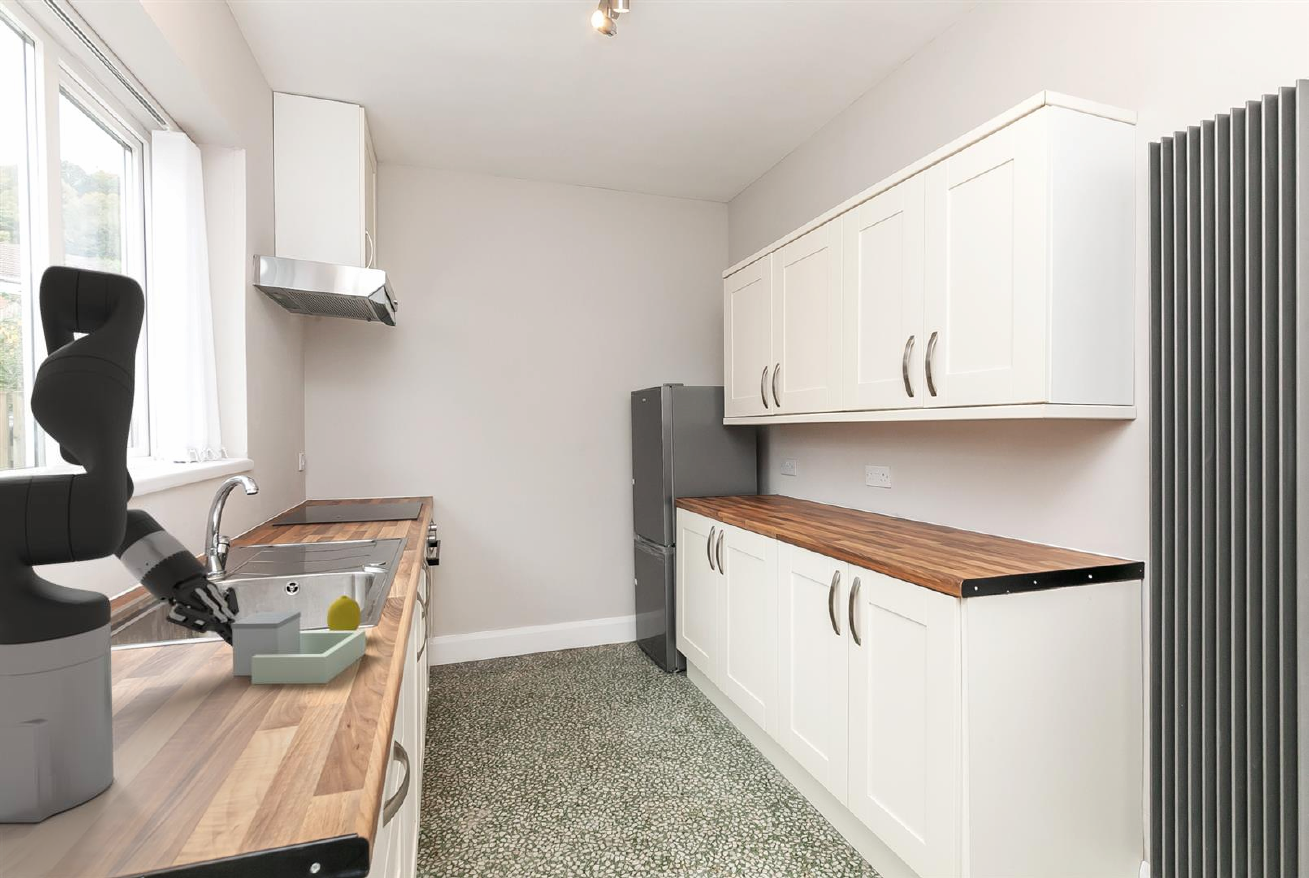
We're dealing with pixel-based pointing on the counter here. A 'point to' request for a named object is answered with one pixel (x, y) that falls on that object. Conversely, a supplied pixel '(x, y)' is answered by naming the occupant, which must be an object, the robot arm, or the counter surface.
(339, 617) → the lemon
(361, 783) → the counter surface
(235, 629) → the lidded grey box
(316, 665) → the bay
